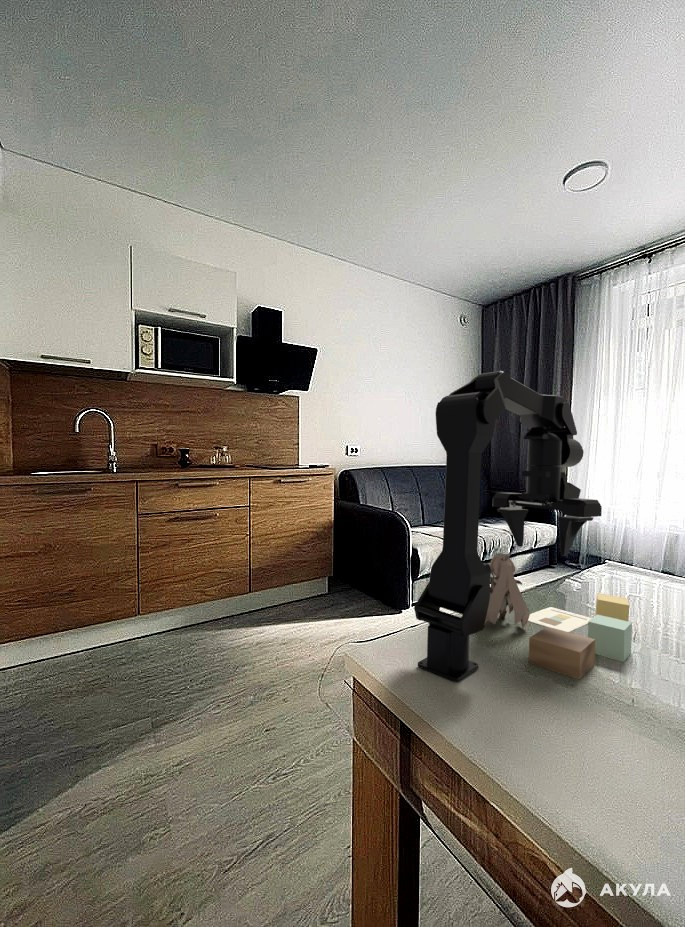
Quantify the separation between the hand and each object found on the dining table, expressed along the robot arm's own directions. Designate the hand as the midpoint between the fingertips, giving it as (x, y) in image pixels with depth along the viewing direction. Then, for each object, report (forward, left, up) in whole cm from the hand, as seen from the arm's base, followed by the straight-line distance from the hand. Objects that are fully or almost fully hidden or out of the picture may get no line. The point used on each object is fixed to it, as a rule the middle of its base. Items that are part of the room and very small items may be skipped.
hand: (541, 550), depth 82 cm
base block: (-13, -8, -14) cm, 21 cm away
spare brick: (+11, -9, -14) cm, 20 cm away
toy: (-4, +5, -14) cm, 16 cm away
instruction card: (+7, -1, -14) cm, 15 cm away
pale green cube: (-3, -12, -14) cm, 19 cm away
